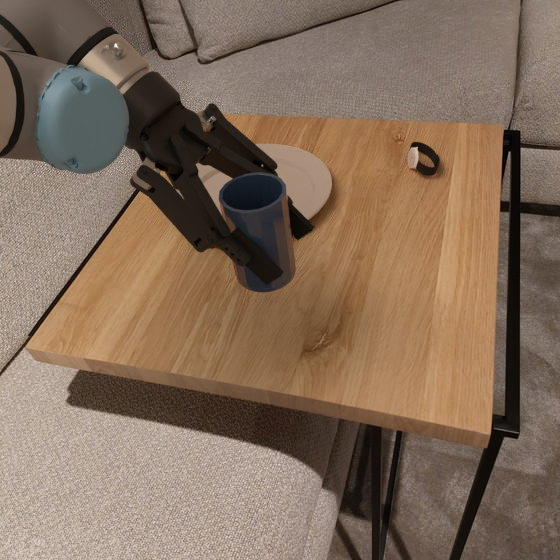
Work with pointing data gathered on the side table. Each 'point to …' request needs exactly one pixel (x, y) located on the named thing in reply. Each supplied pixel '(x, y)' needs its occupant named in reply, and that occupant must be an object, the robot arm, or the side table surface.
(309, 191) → the plate
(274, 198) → the tumbler
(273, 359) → the side table surface
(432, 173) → the watch
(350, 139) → the side table surface
